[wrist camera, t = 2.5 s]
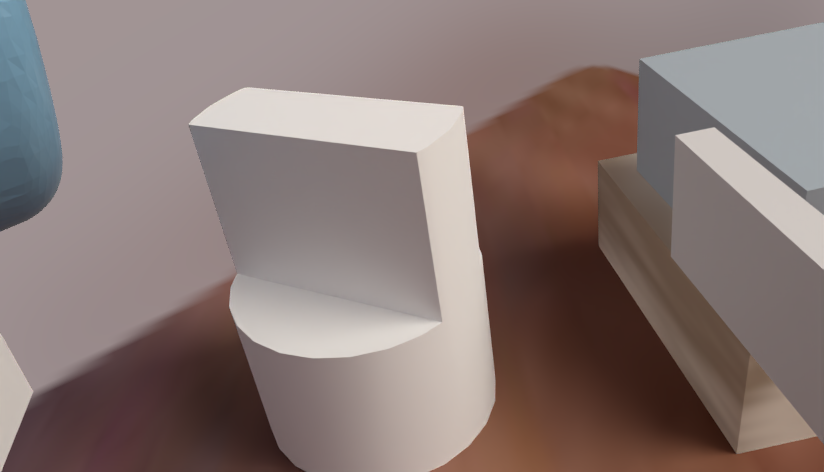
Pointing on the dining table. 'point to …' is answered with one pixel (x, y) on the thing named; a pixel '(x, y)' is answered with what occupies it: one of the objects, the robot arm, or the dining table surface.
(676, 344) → the base block
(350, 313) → the cylinder with rectangular tab
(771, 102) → the grey flat square block
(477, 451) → the dining table surface
